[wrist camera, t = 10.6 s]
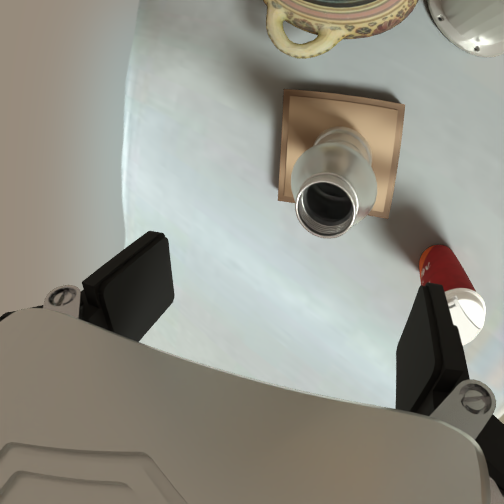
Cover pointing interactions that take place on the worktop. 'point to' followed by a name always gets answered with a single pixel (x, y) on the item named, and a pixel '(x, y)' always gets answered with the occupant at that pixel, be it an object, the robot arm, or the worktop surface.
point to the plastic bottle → (334, 183)
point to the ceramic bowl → (331, 21)
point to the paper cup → (454, 290)
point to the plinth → (344, 115)
